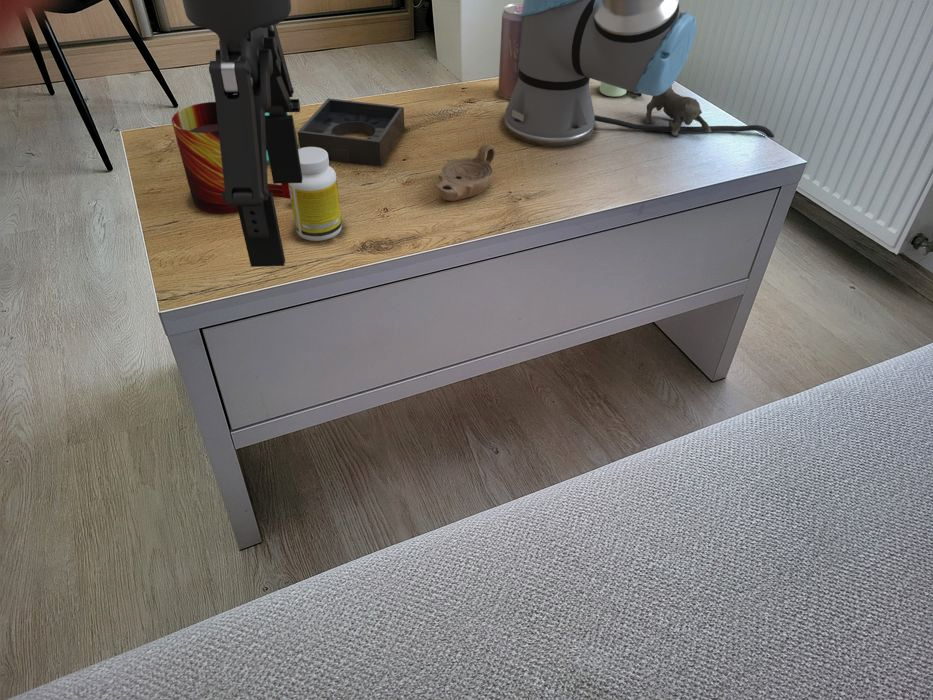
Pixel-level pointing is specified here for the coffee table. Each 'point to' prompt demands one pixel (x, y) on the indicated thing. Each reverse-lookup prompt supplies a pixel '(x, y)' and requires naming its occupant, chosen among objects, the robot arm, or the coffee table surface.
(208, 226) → the coffee table surface
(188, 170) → the mug
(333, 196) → the pill bottle
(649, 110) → the dog figurine
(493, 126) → the coffee table surface
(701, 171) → the coffee table surface
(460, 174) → the oil lamp
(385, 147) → the dark grey storage tray
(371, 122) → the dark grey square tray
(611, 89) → the candle
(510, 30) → the beverage can
